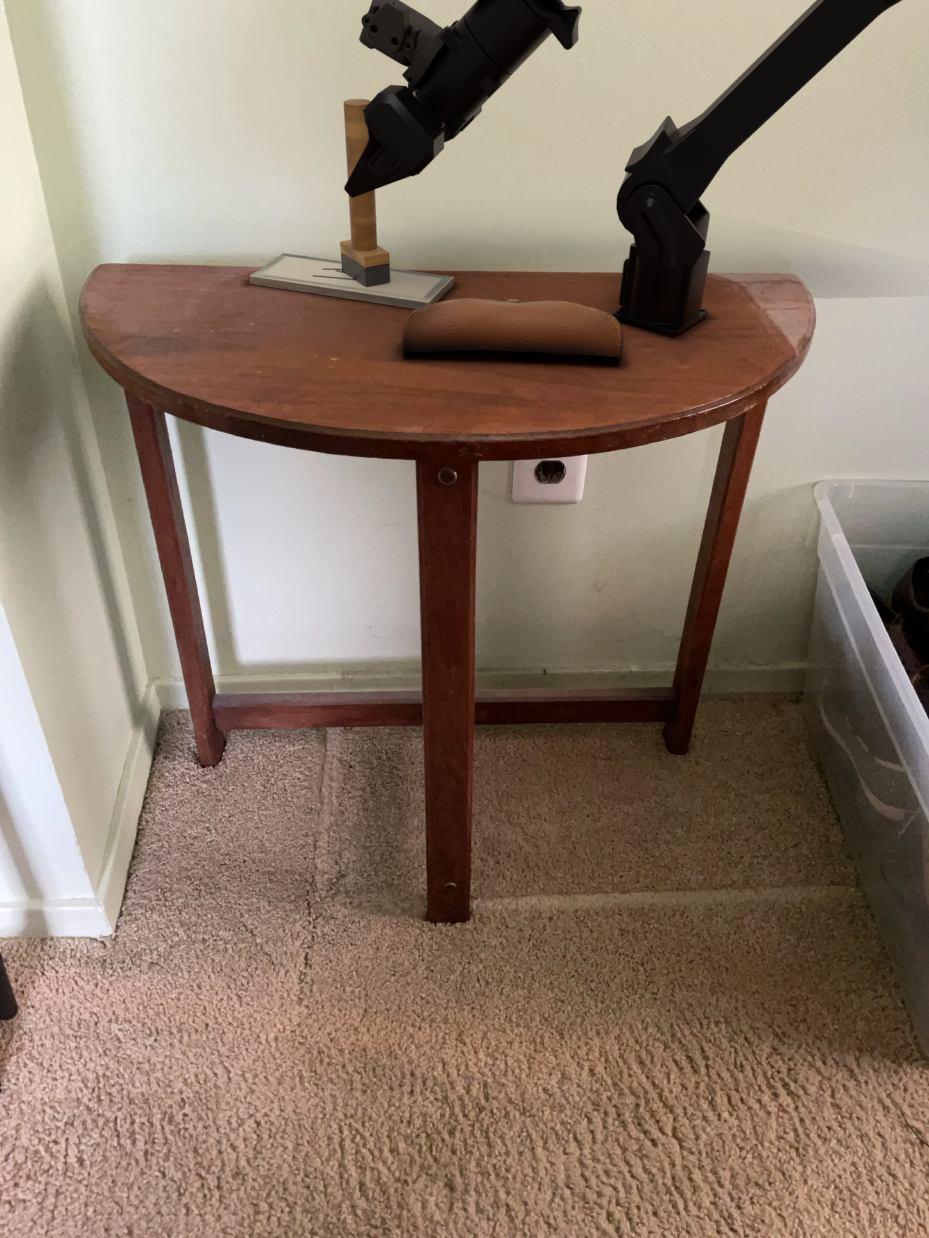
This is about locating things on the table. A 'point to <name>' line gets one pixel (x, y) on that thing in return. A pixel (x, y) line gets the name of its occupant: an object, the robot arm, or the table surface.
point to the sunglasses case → (513, 328)
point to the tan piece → (361, 210)
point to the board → (351, 282)
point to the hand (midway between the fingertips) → (364, 179)
